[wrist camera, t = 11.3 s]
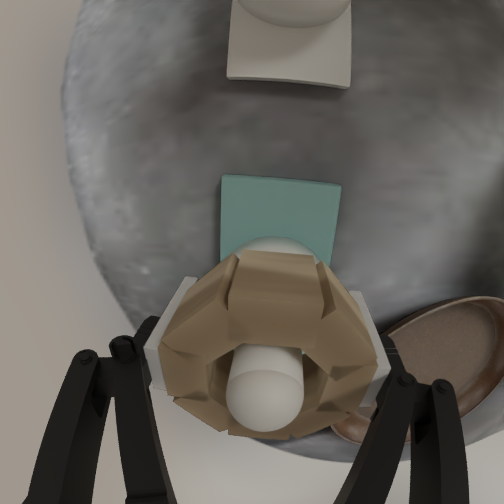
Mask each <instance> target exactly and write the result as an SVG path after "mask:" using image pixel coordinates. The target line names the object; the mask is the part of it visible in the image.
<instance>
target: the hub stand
mask: <svg viewBox="0 0 504 504" xmlns="http://www.w3.org/2000/svg"><path fill="white" fill-rule="evenodd" d="M341 188H342V187H341V186H340V185H339V184H334V183H325V182H316V181H307V180H297V179H286V178H274V177H260V176H245V175H227V174H225V175H224V176H222V187H221V233H220V262H222V261H223V260H224V259H225V258H226V257H228V256H229V255H230V254H231V253H234V254H235V255H236V256H237V257H238V258H239V259H240V257H241V254H242V250H243V249H245V250H256V251H268V252H280V253H292V254H303V255H313V256H314V261H315V265H316V264H317V263H319V262H320V261H322V260H323V261H324V263H325V264H326V265H327V266H328V267H329V266H330V261H331V255H332V249H333V243H334V237H335V231H336V224H337V217H338V210H339V203H340V196H341ZM233 350H234V355H233V360H232V365H231V370H230V374H229V379H228V384H227V389H226V402H227V406H228V409H229V411H230V413H231V414H232V416H233V417H234V418H235V419H236V420H237V421H238V422H239V423H240V424H241V425H243V426H244V427H246V428H248V429H251V430H254V431H260V432H269V431H275V430H278V429H280V428H283V427H285V426H286V425H288V424H289V423H290V422H292V421H293V420H294V419H295V417H296V416H297V415H298V413H299V412H300V409H301V407H302V404H303V400H304V385H303V366H302V355H303V354H305V353H304V352H303V351H302V350H301V349H300V348H297V347H282V346H269V345H258V344H248V343H242V344H241V345H239V346H237V347H236V348H234V349H233Z"/></svg>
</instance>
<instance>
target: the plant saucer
mask: <svg viewBox="0 0 504 504" xmlns="http://www.w3.org/2000/svg"><path fill="white" fill-rule="evenodd" d="M381 335H388V336H389V337H390V338H391V339H392V340H393V341H394V343H395V346H396V349H397V350H398V353H399V355H400V357H401V360H402V362H403V365H404V367H405V370H406V372H408V373H410V374H412V375H413V376H414V377H415V378H416V380H417V382H419V383H423V384H428V385H432V383H433V381H434V380H436V379H445V380H447V381H449V382H450V383H451V384H452V385H453V388H454V391H455V395H456V400H457V404H458V409H459V414H460V420H461V419H462V418H464V417H465V416H466V415H468V414H469V413H470V412H472V411H473V410H474V409H475V408H477V407H478V406H479V405H480V404H481V403H482V402H483V401H484V400H485V399H487V397H488V396H489V395H490V394H491V393H492V392H493V391H494V390H495V388H496V387H497V386H498V385H499V384H500V382H501V381H502V379H503V378H504V300H503V299H500V298H496V297H490V296H464V297H458V298H454V299H449V300H446V301H442V302H439V303H436V304H433V305H431V306H428V307H426V308H424V309H422V310H420V311H418V312H416V313H414V314H411V315H410V316H408V317H406V318H404V319H403V320H401V321H399V322H398V323H396V324H395V325H393V326H392V327H390V328H389V329H388V330H386V331H385V332H384V333H382V334H381ZM376 407H377V402H376V399H375V401H374V403H373V405H372V406H370V407H358V409H357V411H349V412H350V417H348V418H346V419H344V420H341V421H339V422H337V423H335V424H332V425H330V426H331V428H332V429H333V430H334V431H335V433H336V434H337V435H339V436H340V437H341V438H343V439H345V440H347V441H349V442H352V443H355V444H359V445H362V442H363V440H364V437H365V435H366V432H367V430H368V427H369V424H370V422H371V420H369V419H370V418H371V416H372V414H373V412H374V411H375V409H376ZM409 442H411V436H410V424H409V428H408V432H407V436H406V440H405V443H409Z"/></svg>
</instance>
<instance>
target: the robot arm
mask: <svg viewBox="0 0 504 504" xmlns="http://www.w3.org/2000/svg"><path fill="white" fill-rule="evenodd" d="M197 281H198V278H196V277H187V276H185V278H184V280H183V281H182V283H181V285H180V286H179V288H178V290H177V291H176V293H175V294H174V296H173V298H172V299H171V301H170V303H169V305H168V306H167V308H166V310H165V311H164V313H163V315H162V316H161V317H157V316H150V317H148V318H147V319H146V320H144V322H143V323H142V325H141V326H140V328H139V329H138V331H137V333H136V334H135V336H134V337H131V336H126V335H122V336H118V337H116V338H114V339H112V341H111V342H110V344H109V348H110V352H111V355H112V357H103V358H102V357H98V355H97V353H96V352H95V351H93V350H90V349H87V350H82V351H79V352H78V353H77V354H76V355H75V356H74V358H73V360H72V362H71V365H70V367H69V369H68V372H67V374H66V376H65V379H64V381H63V384H62V386H61V389H60V392H59V394H58V397H57V399H56V402H55V404H54V407H53V410H52V413H51V415H50V419H49V421H48V424H47V427H46V430H45V433H44V436H43V440H42V443H41V446H40V449H39V453H38V456H37V460H36V463H35V467H34V471H33V475H32V479H31V483H30V487H29V492H28V496H27V497H26V499H25V500H24V502H23V503H22V504H91V503H92V496H93V488H94V481H95V475H96V468H97V463H98V456H99V451H100V446H101V441H102V436H103V431H104V426H105V422H106V417H107V413H108V409H109V404H110V400H111V397H114V398H115V412H116V423H117V433H118V441H119V449H120V456H121V463H122V469H123V475H124V481H125V486H126V491H127V498H126V499H125V504H177V501H176V498H175V495H174V491H173V488H172V485H171V481H170V478H169V474H168V471H167V467H166V463H165V459H164V456H163V452H162V447H161V444H160V440H159V435H158V430H157V426H156V421H155V416H154V411H153V407H152V400H151V395H150V391H149V385H150V383H151V381H152V384H153V388H157V389H161V390H166V391H167V389H166V385H165V380H164V376H163V371H162V367H161V362H160V357H159V352H158V346H159V344H160V342H161V338H162V336H163V334H164V332H165V330H166V328H167V326H168V325H169V323H170V321H171V319H172V317H173V315H174V313H175V312H176V310H177V308H178V306H179V304H180V302H181V301H182V299H183V297H184V295H185V293H186V291H187V290H188V289H189V288H190V287H191V286H192V285H194V284H195V283H196V282H197ZM348 292H349V293H350V295H351V296H352V297H353V298H354V300H355V301H356V302H357V303H358V305H359V308H360V310H361V313H362V316H363V318H364V321H365V324H366V327H367V329H368V332H369V335H370V338H371V340H372V343H373V346H374V349H375V352H376V355H377V359H376V360H377V363H378V368H377V370H376V372H375V375H374V377H373V379H372V381H371V383H370V385H369V387H368V389H367V392H366V394H365V396H364V398H363V400H362V402H361V404H360V405H359V407H370V406H372V405H373V403H374V401H375V399H376V402H377V407H376V409H375V411H374V412H373V414H372V416H371V418H370V419H369V420H371V422H370V424H369V427H368V430H367V432H366V435H365V437H364V440H363V442H362V445H361V447H360V449H359V452H358V454H357V456H356V459H355V461H354V463H353V466H352V468H351V470H350V472H349V474H348V476H347V478H346V480H345V482H344V484H343V486H342V488H341V490H340V492H339V494H338V496H337V498H336V500H335V501H334V503H333V504H385V501H386V498H387V496H388V493H389V491H390V488H391V485H392V482H393V479H394V476H395V473H396V470H397V467H398V464H399V461H400V458H401V454H402V451H403V447H404V444H405V440H406V436H407V432H408V428H409V424H410V436H411V475H410V497H409V504H469V485H468V471H467V461H466V453H465V444H464V438H463V431H462V425H461V420H460V414H459V409H458V404H457V400H456V395H455V391H454V388H453V385H452V384H451V383H450V382H449V381H447V380H445V379H436V380H434V381H433V383H432V385H428V384H423V383H419V382H417V380H416V378H415V377H414V376H413V375H412V374H410V373H408V372H406V370H405V367H404V365H403V362H402V360H401V357H400V355H399V353H398V350H397V349H396V346H395V343H394V341H393V340H392V339H391V338H390V337H389V336H388V335H378V332H377V330H376V327H375V325H374V322H373V320H372V317H371V315H370V313H369V310H368V308H367V305H366V303H365V301H364V298H363V296H362V294H361V292H360V291H348Z"/></svg>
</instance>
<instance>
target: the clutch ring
mask: <svg viewBox="0 0 504 504" xmlns="http://www.w3.org/2000/svg"><path fill="white" fill-rule="evenodd" d="M242 343H248V344H258V345H269V346H282V347H297V348H300V349H301V350H302V351H303V352H304V353H305V354H303V355H302V366H303V385H304V400H303V404H302V407H301V409H300V412H299V413H298V415H297V416H296V417H295V419H294V420H293V421H292V422H290V423H289V424H288V425H286V426H285V427H283V428H280V429H278V430H275V431H269V432H260V431H254V430H251V429H248V428H246V427H244V426H243V425H241V424H240V423H239V422H238V421H237V420H236V419H235V418H234V417H233V416H232V414H231V413H230V411H229V409H228V406H227V402H226V389H227V384H228V379H229V374H230V370H231V365H232V360H233V355H234V350H233V349H234V348H236V347H237V346H239V345H241V344H242ZM158 352H159V357H160V362H161V367H162V371H163V376H164V380H165V385H166V389H167V393H168V395H170V396H175V397H174V400H173V402H175V403H176V404H177V405H179V406H180V407H182V408H183V409H185V410H186V411H188V412H189V413H191V414H192V415H194V416H195V417H197V418H198V419H200V420H201V421H203V422H205V423H206V424H208V425H209V426H211V427H213V428H214V429H216V430H217V431H219V432H221V431H224V430H227V429H228V434H229V435H234V436H243V437H253V438H264V439H280V440H288V439H289V436H290V435H292V436H294V437H295V438H297V439H298V438H300V437H303V436H306V435H308V434H311V433H313V432H316V431H318V430H321V429H323V428H325V427H328V426H330V425H332V424H335V423H337V422H339V421H341V420H344V419H346V418H348V417H350V412H349V411H357V409H358V407H359V405H360V404H361V402H362V400H363V398H364V396H365V394H366V392H367V389H368V387H369V385H370V383H371V381H372V379H373V377H374V375H375V372H376V370H377V368H378V363H377V360H376V359H377V355H376V352H375V349H374V346H373V343H372V340H371V338H370V335H369V332H368V329H367V327H366V324H365V321H364V318H363V316H362V313H361V310H360V308H359V305H358V303H357V302H356V301H355V300H354V298H353V297H352V296H351V295H350V293H349V292H348V291H347V290H346V288H345V287H344V286H343V285H342V283H341V282H340V281H339V280H338V278H337V277H336V276H335V275H334V274H333V272H332V271H331V270H330V269H329V267H328V266H327V265H326V264H325V263H324V261H323V260H322V261H320V262H319V263H317V264H316V265H315V261H314V256H313V255H303V254H292V253H280V252H268V251H256V250H245V249H243V250H242V254H241V257H240V259H239V258H238V257H237V256H236V255H235V254H234V253H231V254H230V255H229V256H228V257H226V258H225V259H224V260H223V261H222V262H220V263H219V264H218V265H217V266H216V267H214V268H213V269H212V270H211V271H209V272H208V273H207V274H206V275H205V276H203V277H202V278H201V279H200V280H199V281H197V282H196V283H195V284H194V285H192V286H191V287H190V288H189V289H188V290H187V291H186V293H185V295H184V297H183V299H182V301H181V302H180V304H179V306H178V308H177V310H176V312H175V313H174V315H173V317H172V319H171V321H170V323H169V325H168V326H167V328H166V330H165V332H164V334H163V336H162V338H161V342H160V344H159V346H158Z"/></svg>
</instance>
